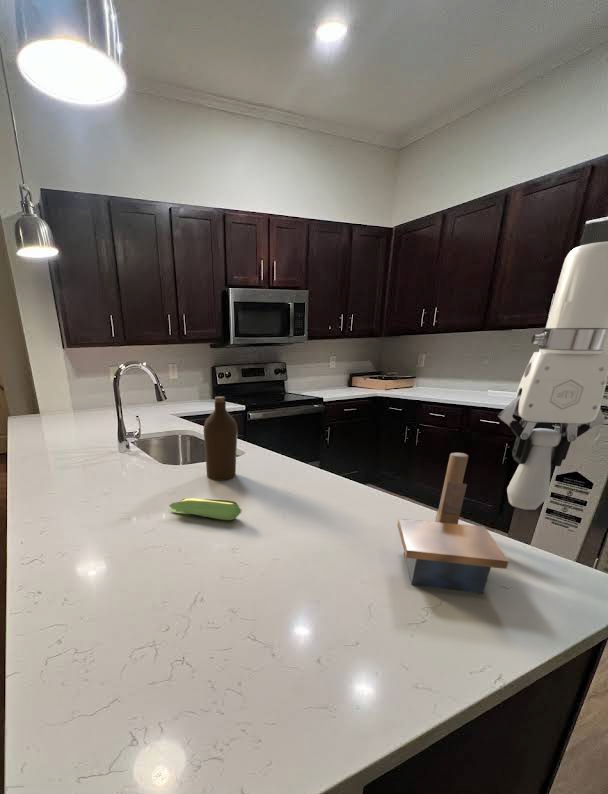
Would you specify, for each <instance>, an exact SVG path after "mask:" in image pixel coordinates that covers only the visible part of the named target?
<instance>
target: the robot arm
mask: <svg viewBox="0 0 608 794" xmlns="http://www.w3.org/2000/svg"><path fill="white" fill-rule="evenodd" d="M560 271H561V272H560V275H559V278H558V282H557V286H556V290H555V293H554V297H553V300H552V304H551V308H550V311H549V315H548V318H547V321H546V325H545V328H544V329H543V330H542V332H540V333H537V334H536V333H533V335H532V337H531V341H530V342H531V344H532V345H538V349H539V350H538V351H534V352H533V353H532V356H531V357H530V359H529V362H528V364H527V366H526V367H525V370H524V373H523V375H522V377H521V379H520V382H519V384H518V387H517V390H516V393H515V396H514V399H513V400H511V402H510V403H509V404H508V405H506V407H505V408H503V409H502V410H501V411H500V412H499V413H498V414H497V418H498V419H499V420H500V421H501V422H503V423H504V424H505V425H507V426H508V428H509V429H510V430H511V432H513V434H514V435H515V436H516V438H515V441H514V445H513V448H512V452H511V456H512V457H513V460H514V461H515V462H516V463H517V464H518V465H519V464H524V463H525V462H526V459H527V455H528V452H529V449H530V445H531V440H529V437H530V434H531V432H532V430H533V429H535V427H536V425H537V423H555V424H558V423H559V433H560V434H561V440H560V443H559V444H558V445H557V446H554V447H553V448H552V458H551V465H553V466H554V467H561V466H562V464H563V461H565V460H566V458H567V455H568V452H569V449H570V446H571V444H572V443H573V442H575V441H576V440H577V438H578V437H581V436H582V435H583V434H586V433H587V432H588V431H590V430H591V429H595V428H596V427H598V426H601V425H603V424H604V423H605V422H606V418H605V416H604V413H603V411H602V409H601V406H602V402H603V399H604V395H605V391H606V386H607V382H608V352H606V353H605V349H606V345H607V342H608V241H598V242H591V243H586V244H582V245H579V246H576V247H574V248H573V249H572V250H570V251H569V252H568V253H567V255H566V257H565V258H564V261H563V264H562V267H561V270H560ZM514 415H515V416H517V417H520V418H521V419H520V420H519V421H518V420H517V419H515V418H514Z"/></svg>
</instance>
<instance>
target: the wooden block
mask: <svg viewBox="0 0 608 794" xmlns="http://www.w3.org/2000/svg"><path fill="white" fill-rule="evenodd" d="M468 460H469V455H468V454H466V453H465V452H451V453H450V454H449V458H448V463H447V467H446V473H445V478H444V483H443V487H442V492H441V495H440V501H439V505H438V509H437V511H436V516H435V521H434V522H440V523H451V524H459V521H460V515H461V512H462V507H463V503H464V499H465V494H466V490H467V487H468V484H467V483H463V482H464V478H465V473H466V469H467V465H468Z"/></svg>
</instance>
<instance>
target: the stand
mask: <svg viewBox="0 0 608 794" xmlns="http://www.w3.org/2000/svg"><path fill="white" fill-rule="evenodd" d="M397 529H398V533H399V536H400V541H401V544H402V548H403V557H404V561H405V564H406V569H407V571H408V577H409V580H410V584H411V585H413V586H420V587H429V588H436V589H444V590H452V591H453V590H454V591H460V592H468V593H476V594H484V593H485V590H486V586H487V582H488V579H489V575H490V571H491V568H494V569H495V568H496V569H504V570H507V568H508V565H509V560H508V558H507V556H506V555H505V554H504V552H503V551H502V549H501V548H500V546H499V545H498V544H497V542H496V541H495V540H494V538H493V537H492V535H491V533H490V532H489V531H488V530H487V528H486V527H485V526H483V525H471V524H461V523H458V524H451V523H440V522H435V521H430V520H429V521H427V520H417V519H405V518H398V519H397Z"/></svg>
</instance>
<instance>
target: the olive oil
mask: <svg viewBox="0 0 608 794" xmlns="http://www.w3.org/2000/svg"><path fill="white" fill-rule="evenodd" d="M214 400H215V401H214V410H213V411H212V413H211V414H210V415H209V416H208V417H207V418H206V420H205V421H204V425H203V439H204V452H205V465H206V466H205V467H206V476H207V478H209V479H211V480H215V481H227V480H232V479H234V478H235V477H236V473H237V471H236V470H237V450H238V449H237V447H238V433H239V432H238V431H239V430H238V424H237V422H236V419H234V417H233V416H232V415H231V414H230V413H229V412H228V410H227V407H226V406H227V403H226V397H225V396H215V397H214Z"/></svg>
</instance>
